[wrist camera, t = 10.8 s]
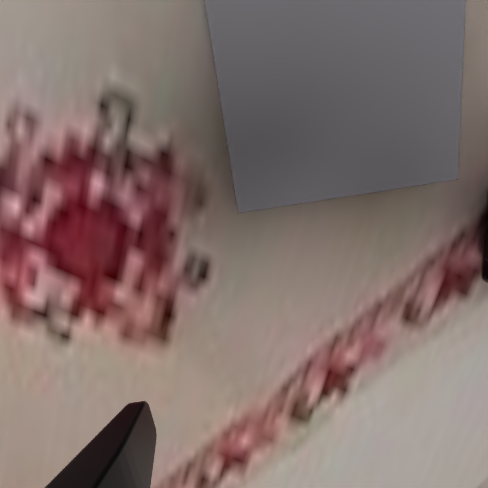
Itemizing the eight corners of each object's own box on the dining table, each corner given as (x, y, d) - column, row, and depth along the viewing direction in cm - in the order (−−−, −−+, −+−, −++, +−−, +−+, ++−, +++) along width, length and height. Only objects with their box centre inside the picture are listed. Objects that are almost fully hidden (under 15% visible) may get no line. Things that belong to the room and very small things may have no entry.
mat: (448, -77, 16) (470, -100, 14) (441, 176, 19) (458, 179, 18) (199, -36, 16) (196, -53, 14) (237, 208, 19) (238, 213, 18)
